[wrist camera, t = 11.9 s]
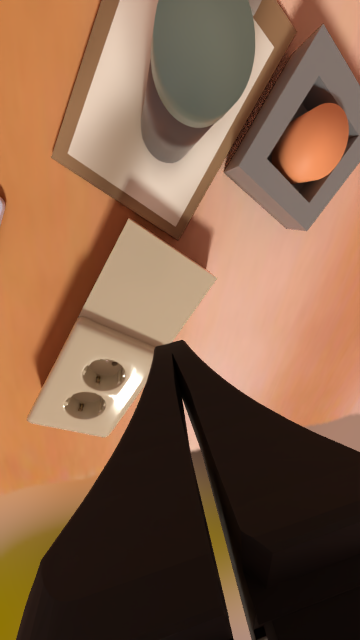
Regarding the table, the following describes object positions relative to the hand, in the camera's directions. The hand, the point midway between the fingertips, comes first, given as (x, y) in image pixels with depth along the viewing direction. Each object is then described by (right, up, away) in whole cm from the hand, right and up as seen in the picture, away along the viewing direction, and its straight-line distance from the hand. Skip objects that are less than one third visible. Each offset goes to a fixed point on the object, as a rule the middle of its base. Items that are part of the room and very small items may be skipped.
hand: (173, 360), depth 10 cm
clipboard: (0, +15, +3) cm, 15 cm away
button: (+8, +13, +5) cm, 16 cm away
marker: (0, +13, +3) cm, 14 cm away
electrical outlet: (-5, +1, +10) cm, 11 cm away
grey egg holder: (+8, +14, +5) cm, 17 cm away
